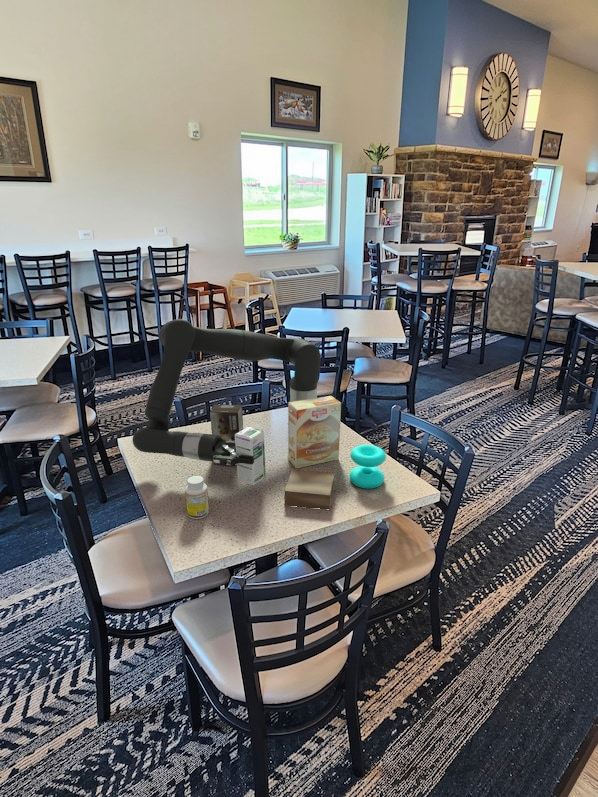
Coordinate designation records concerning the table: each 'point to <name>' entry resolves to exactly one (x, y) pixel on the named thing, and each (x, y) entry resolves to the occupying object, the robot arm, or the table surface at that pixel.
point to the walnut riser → (309, 489)
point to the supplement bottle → (196, 498)
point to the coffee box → (226, 420)
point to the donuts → (367, 466)
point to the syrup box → (251, 445)
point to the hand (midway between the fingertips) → (258, 453)
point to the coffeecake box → (313, 431)
